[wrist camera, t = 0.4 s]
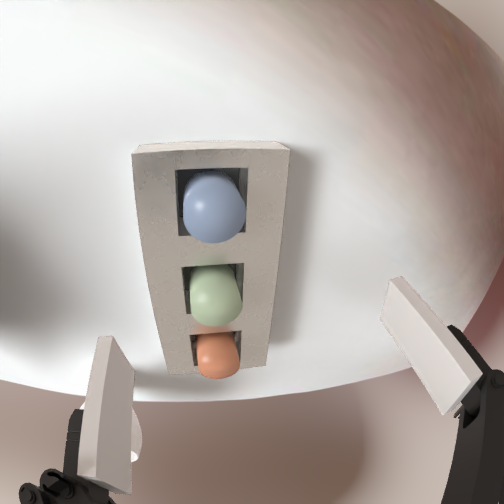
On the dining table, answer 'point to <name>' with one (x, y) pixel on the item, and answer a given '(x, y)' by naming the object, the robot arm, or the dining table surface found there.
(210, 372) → the button terracotta
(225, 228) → the button slate
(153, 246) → the panel
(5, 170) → the dining table surface
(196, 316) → the button sage
